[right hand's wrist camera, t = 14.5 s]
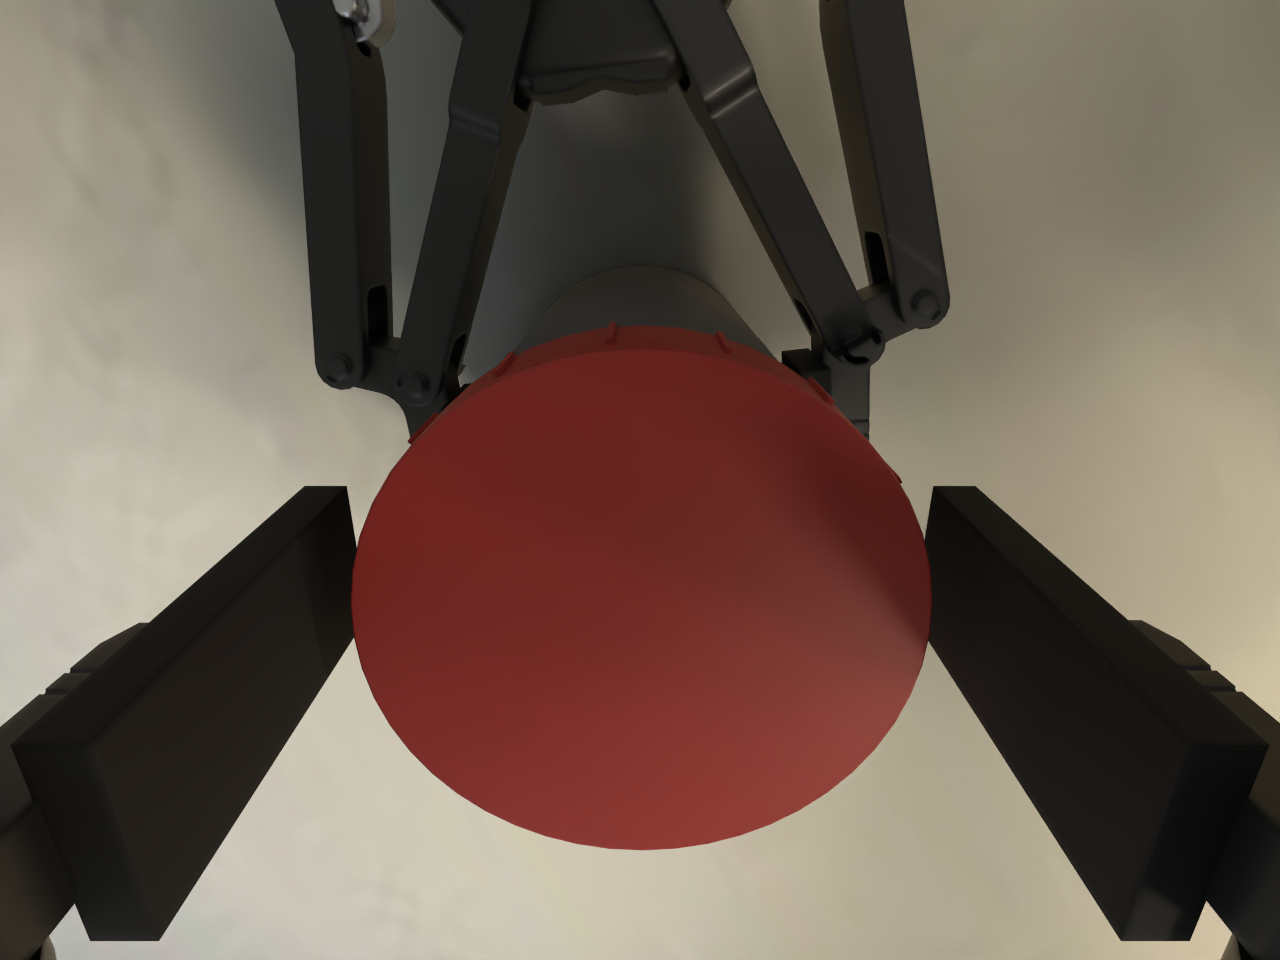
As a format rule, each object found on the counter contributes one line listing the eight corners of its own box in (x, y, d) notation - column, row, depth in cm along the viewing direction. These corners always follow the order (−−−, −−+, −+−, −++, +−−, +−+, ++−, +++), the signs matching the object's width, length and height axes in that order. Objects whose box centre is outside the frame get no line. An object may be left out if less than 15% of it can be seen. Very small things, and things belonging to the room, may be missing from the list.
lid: (417, 775, 15) (386, 854, 13) (348, 321, 11) (295, 344, 10) (864, 775, 15) (895, 852, 13) (927, 318, 11) (980, 340, 10)
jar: (530, 497, 27) (409, 821, 13) (514, 265, 24) (336, 360, 10) (753, 496, 27) (875, 819, 13) (766, 264, 24) (944, 357, 10)
